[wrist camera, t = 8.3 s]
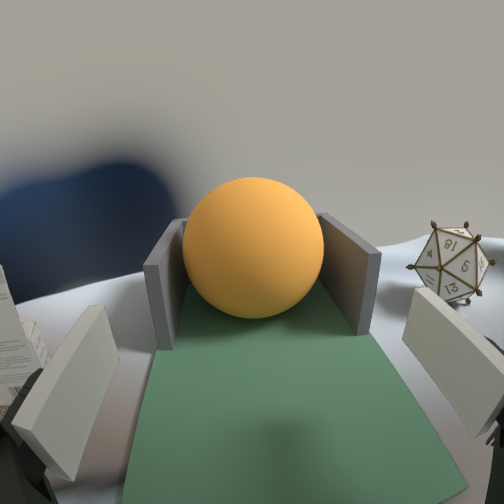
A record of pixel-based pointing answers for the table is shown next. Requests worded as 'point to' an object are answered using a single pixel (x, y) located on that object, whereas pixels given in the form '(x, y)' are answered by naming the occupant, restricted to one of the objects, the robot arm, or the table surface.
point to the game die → (452, 263)
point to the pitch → (280, 396)
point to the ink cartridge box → (17, 347)
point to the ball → (253, 247)
